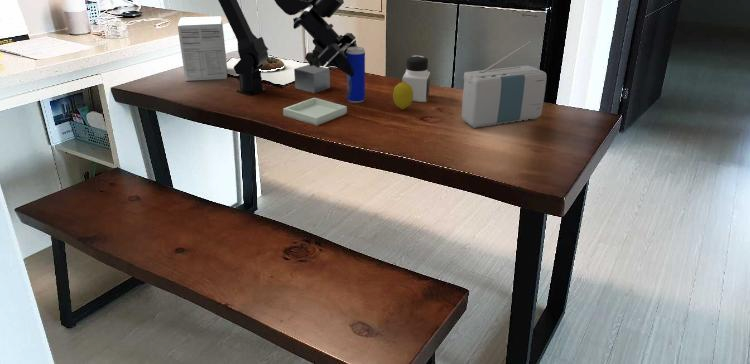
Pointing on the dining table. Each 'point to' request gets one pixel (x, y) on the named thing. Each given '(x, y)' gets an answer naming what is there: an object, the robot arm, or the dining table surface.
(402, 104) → the lemon
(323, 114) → the tray
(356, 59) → the beverage can
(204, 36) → the supplement box
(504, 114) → the stereo radio cassette player
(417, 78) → the medicine bottle
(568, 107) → the dining table surface
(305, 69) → the box
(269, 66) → the bread roll
